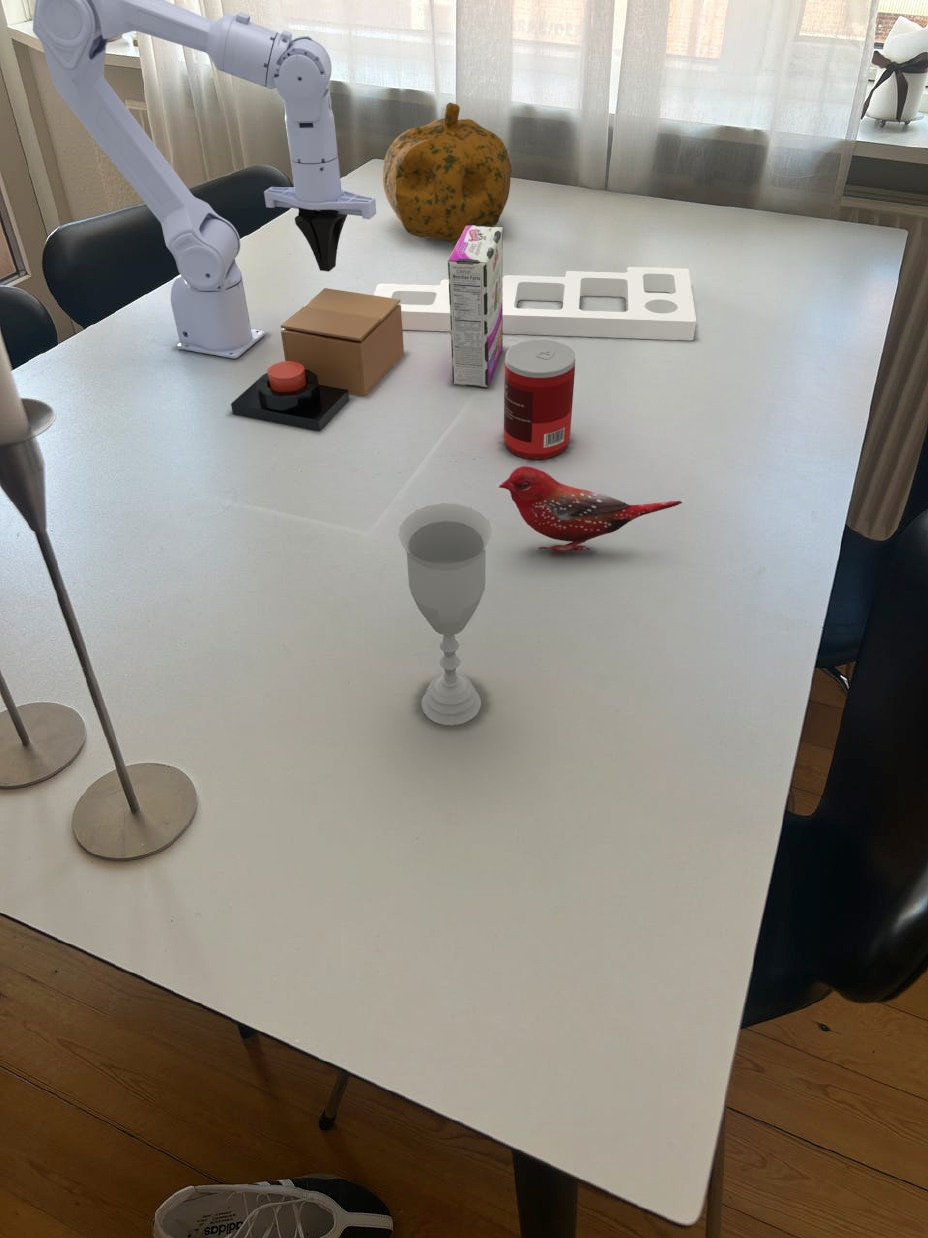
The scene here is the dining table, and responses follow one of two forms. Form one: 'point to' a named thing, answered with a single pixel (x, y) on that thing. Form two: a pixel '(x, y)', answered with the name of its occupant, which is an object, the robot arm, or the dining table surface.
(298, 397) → the block
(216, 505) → the dining table surface
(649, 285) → the holder
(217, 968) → the dining table surface
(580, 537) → the decorative bird figurine
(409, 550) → the chalice
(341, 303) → the flap
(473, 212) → the decorative pumpkin
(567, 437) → the canned food
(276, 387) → the button
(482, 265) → the candy bar box
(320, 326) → the carton
